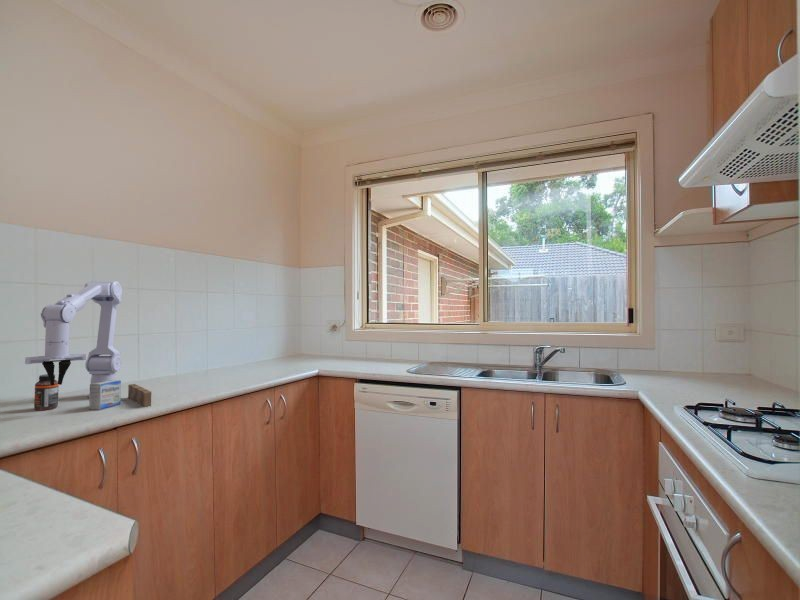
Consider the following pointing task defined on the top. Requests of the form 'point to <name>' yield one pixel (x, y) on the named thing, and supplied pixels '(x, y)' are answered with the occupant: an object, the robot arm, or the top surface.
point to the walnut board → (139, 395)
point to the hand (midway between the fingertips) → (56, 384)
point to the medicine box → (105, 394)
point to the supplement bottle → (46, 394)
